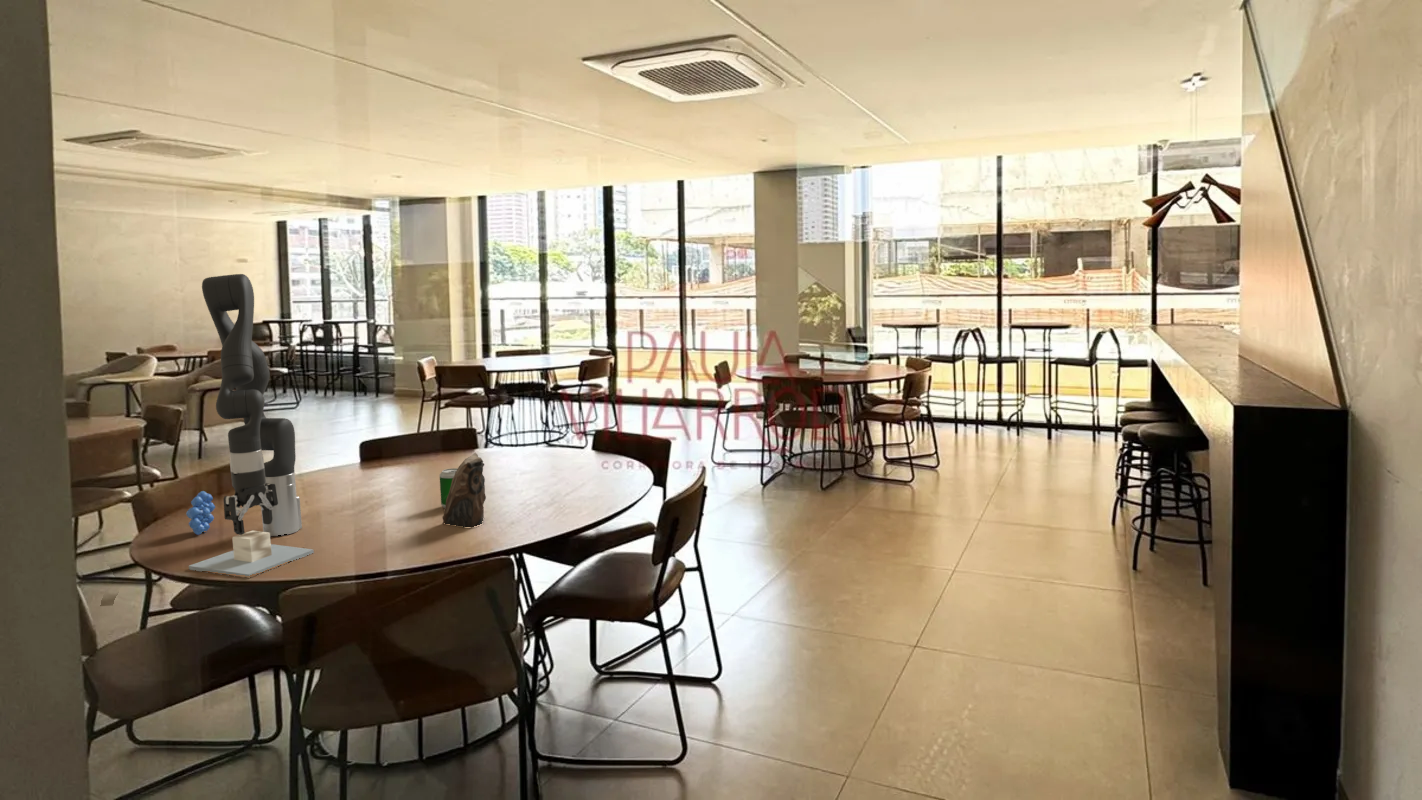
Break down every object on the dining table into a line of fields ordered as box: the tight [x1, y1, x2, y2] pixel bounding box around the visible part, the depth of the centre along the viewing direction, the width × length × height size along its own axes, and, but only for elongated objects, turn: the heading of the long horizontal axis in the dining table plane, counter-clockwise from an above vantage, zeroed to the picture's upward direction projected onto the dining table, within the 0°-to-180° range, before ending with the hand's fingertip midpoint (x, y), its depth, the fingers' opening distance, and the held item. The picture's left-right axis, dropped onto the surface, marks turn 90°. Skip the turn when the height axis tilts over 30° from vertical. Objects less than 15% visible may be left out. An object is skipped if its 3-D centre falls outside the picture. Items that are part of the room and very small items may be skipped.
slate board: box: [188, 543, 315, 576], centre depth 213 cm, size 20×20×1 cm
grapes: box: [185, 490, 216, 536], centre depth 237 cm, size 12×7×12 cm, turn 5°
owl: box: [442, 452, 487, 528], centre depth 244 cm, size 13×13×20 cm
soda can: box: [439, 467, 458, 509], centre depth 262 cm, size 8×8×12 cm
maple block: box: [231, 529, 272, 562], centre depth 213 cm, size 6×6×6 cm
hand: (254, 528), depth 212 cm, fingers open, 8 cm apart
